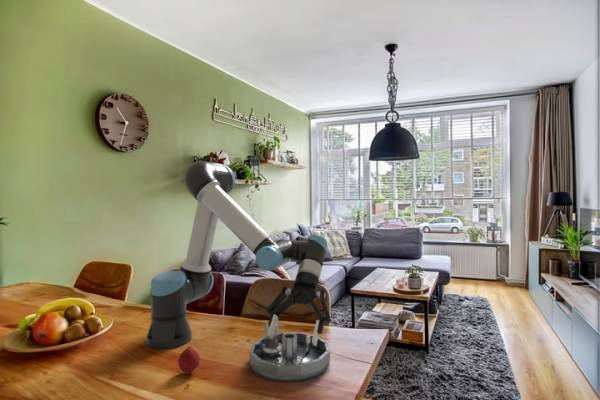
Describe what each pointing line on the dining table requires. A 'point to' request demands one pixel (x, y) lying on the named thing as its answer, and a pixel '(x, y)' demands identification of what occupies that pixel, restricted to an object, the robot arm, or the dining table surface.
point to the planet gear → (289, 350)
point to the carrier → (267, 367)
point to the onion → (188, 360)
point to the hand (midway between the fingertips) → (291, 340)
